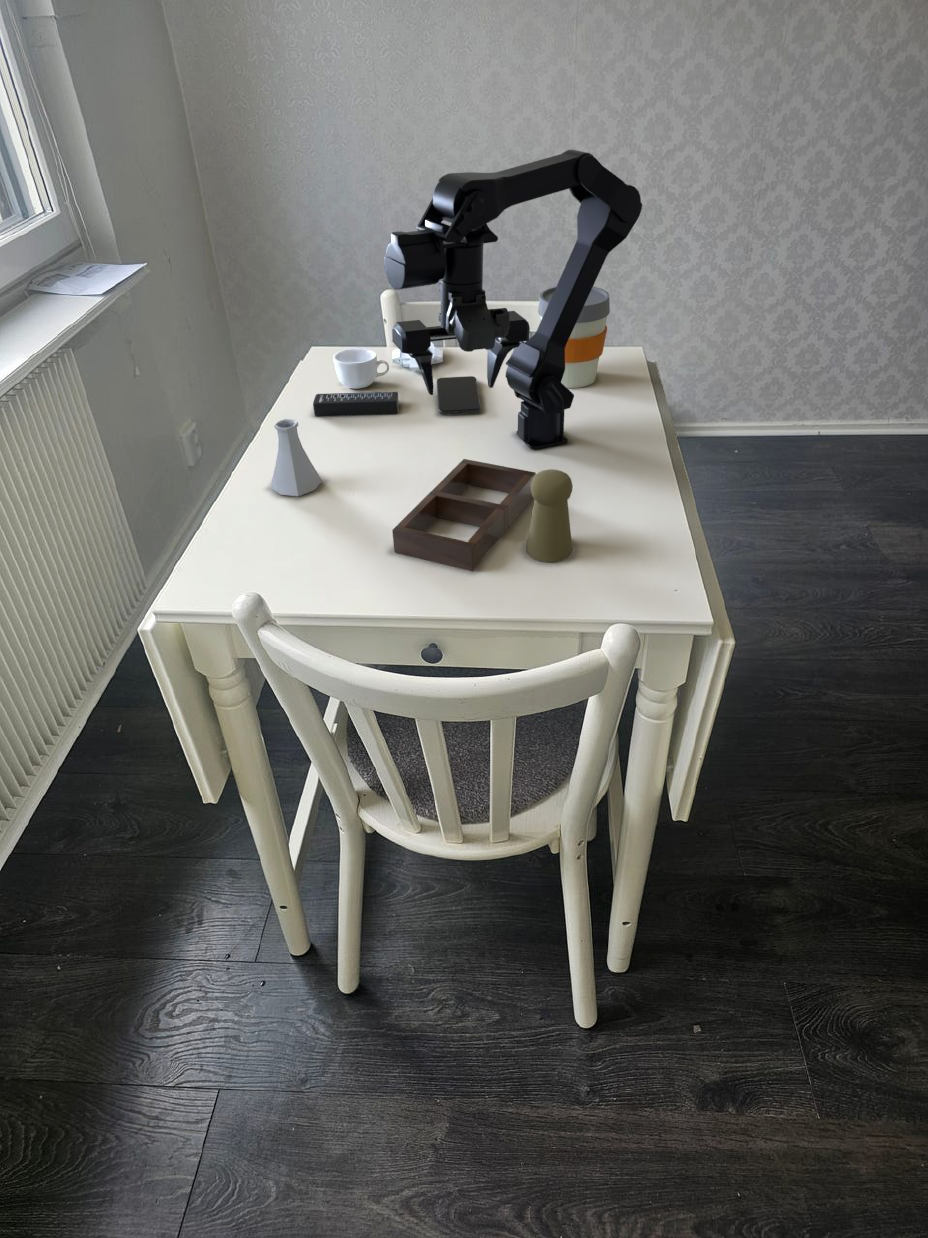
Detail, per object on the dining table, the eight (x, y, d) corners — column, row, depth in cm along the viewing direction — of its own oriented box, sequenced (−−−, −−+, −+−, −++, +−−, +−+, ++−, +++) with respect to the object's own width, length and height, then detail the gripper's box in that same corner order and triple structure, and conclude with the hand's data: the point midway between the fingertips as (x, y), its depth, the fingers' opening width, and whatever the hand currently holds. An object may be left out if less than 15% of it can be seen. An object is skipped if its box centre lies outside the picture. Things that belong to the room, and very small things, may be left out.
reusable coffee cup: (608, 367, 161) (614, 285, 152) (601, 393, 151) (607, 308, 142) (542, 363, 163) (544, 283, 154) (531, 389, 154) (532, 305, 145)
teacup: (333, 392, 156) (329, 363, 152) (341, 376, 162) (337, 348, 158) (387, 392, 155) (384, 363, 152) (393, 376, 161) (391, 348, 158)
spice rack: (464, 479, 128) (463, 458, 126) (535, 493, 124) (536, 472, 122) (394, 552, 112) (392, 529, 110) (472, 571, 108) (471, 548, 106)
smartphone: (481, 413, 146) (476, 379, 158) (481, 409, 146) (476, 375, 157) (438, 416, 146) (436, 381, 158) (438, 411, 145) (436, 377, 157)
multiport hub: (397, 414, 147) (396, 401, 146) (314, 416, 148) (312, 403, 146) (399, 403, 151) (398, 391, 149) (317, 405, 151) (316, 393, 150)
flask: (299, 502, 124) (288, 438, 118) (262, 490, 127) (249, 427, 121) (330, 481, 129) (322, 419, 123) (294, 470, 132) (283, 409, 126)
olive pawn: (578, 559, 110) (582, 482, 103) (532, 565, 109) (534, 489, 102) (564, 534, 115) (568, 460, 108) (521, 540, 114) (522, 466, 107)
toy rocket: (442, 373, 161) (442, 361, 160) (391, 375, 161) (390, 363, 160) (443, 343, 174) (442, 332, 172) (395, 345, 174) (394, 334, 173)
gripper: (412, 301, 107) (415, 419, 116) (548, 289, 112) (541, 403, 121) (388, 278, 115) (393, 390, 125) (517, 268, 120) (512, 376, 130)
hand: (460, 390), depth 125 cm, fingers open, 9 cm apart
